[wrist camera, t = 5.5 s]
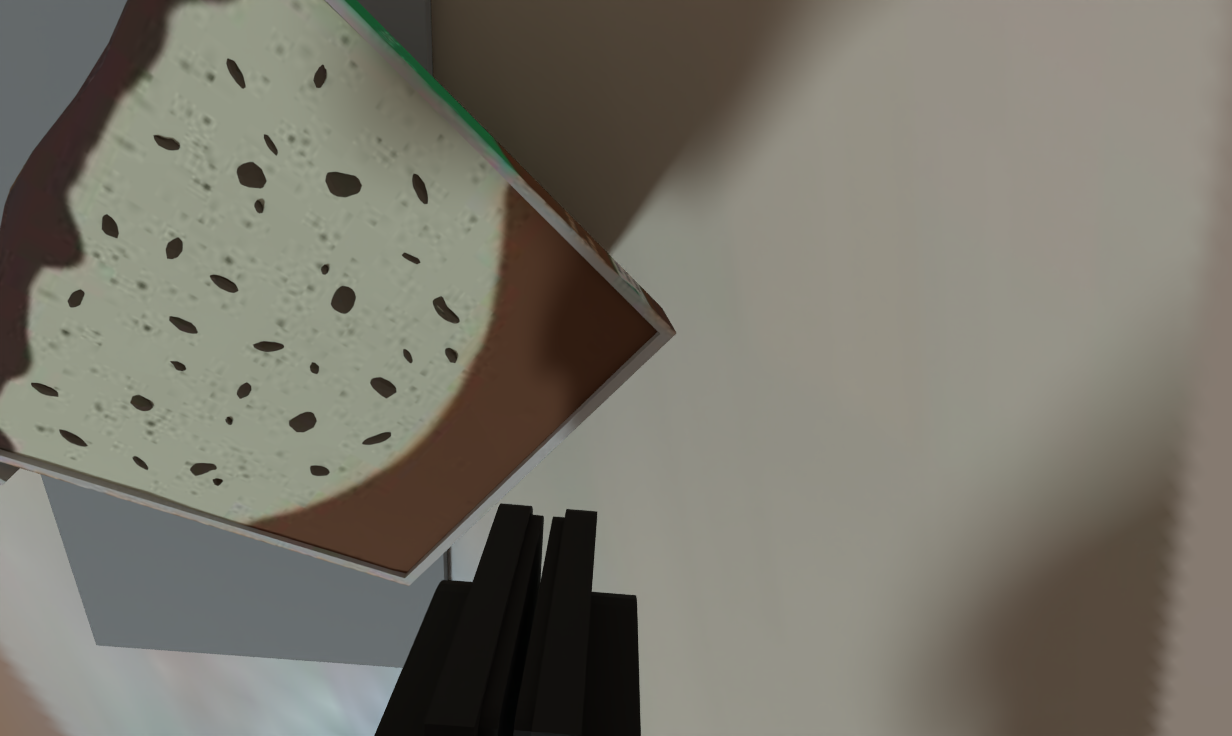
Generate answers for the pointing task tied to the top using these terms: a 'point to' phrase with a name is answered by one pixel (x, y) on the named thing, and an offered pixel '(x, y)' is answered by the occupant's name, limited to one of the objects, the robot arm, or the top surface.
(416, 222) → the food container
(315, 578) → the rubber mat
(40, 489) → the top surface
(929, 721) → the top surface
